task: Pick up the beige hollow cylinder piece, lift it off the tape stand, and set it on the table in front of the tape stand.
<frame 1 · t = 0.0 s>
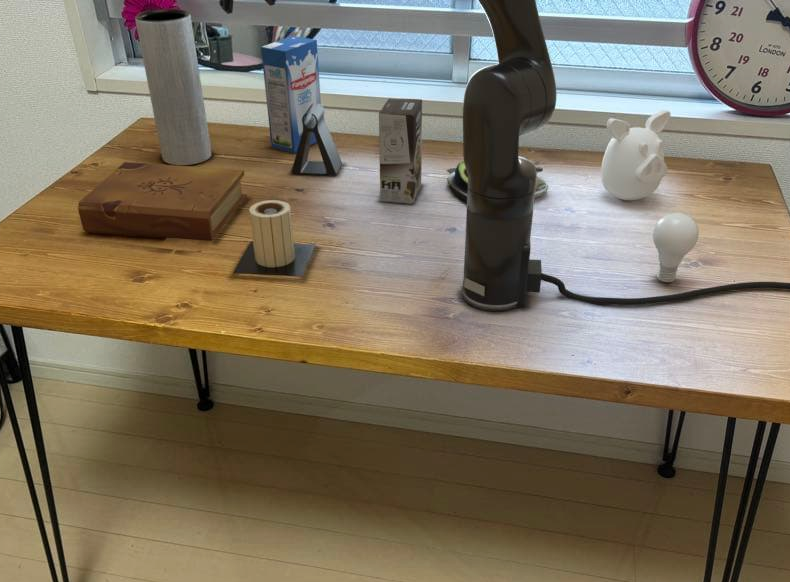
hand: (248, 6, 135), 31 cm above the table, tool tilted 20°, fingers open, 8 cm apart
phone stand: (317, 170, 161), on the table
salad plate: (493, 191, 152), on the table
milk carton: (297, 143, 172), on the table
coffee box: (401, 194, 151), on the table
beige hollow cylinder piece: (275, 258, 130), point 1 cm above the table, touching tape stand
diary: (169, 217, 144), on the table
lightbulb: (664, 282, 124), on the table
piggy bank: (629, 198, 149), on the table
tape stand: (275, 262, 130), on the table
vase: (187, 158, 167), on the table
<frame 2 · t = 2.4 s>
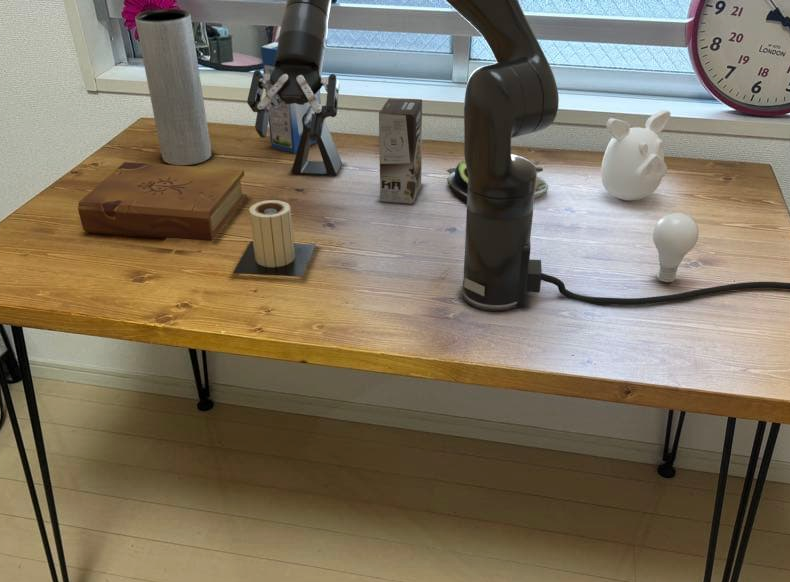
hand: (287, 137, 128), 16 cm above the table, tool tilted 45°, fingers open, 8 cm apart
nothing on the table moved.
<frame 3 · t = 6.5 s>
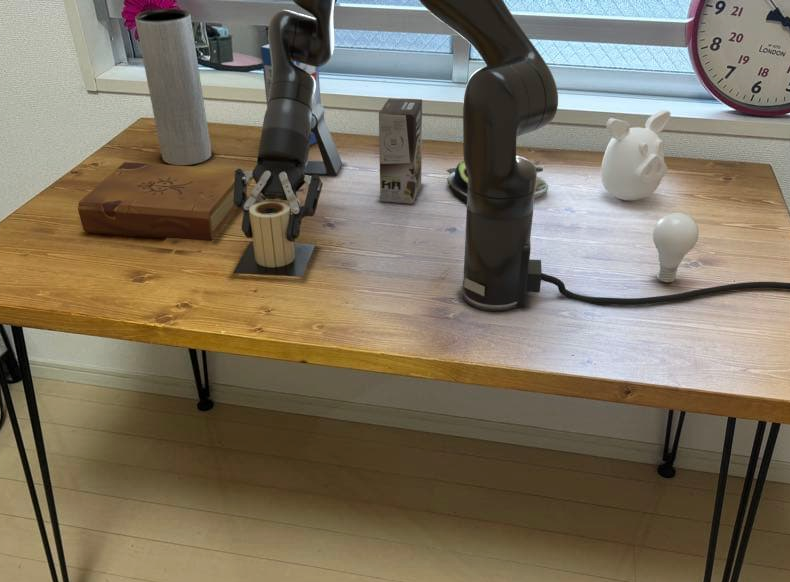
hand: (269, 237, 126), 5 cm above the table, tool tilted 45°, fingers closed on beige hollow cylinder piece, 6 cm apart
beige hollow cylinder piece: (275, 258, 130), point 1 cm above the table, touching gripper, tape stand
everything else where it was.
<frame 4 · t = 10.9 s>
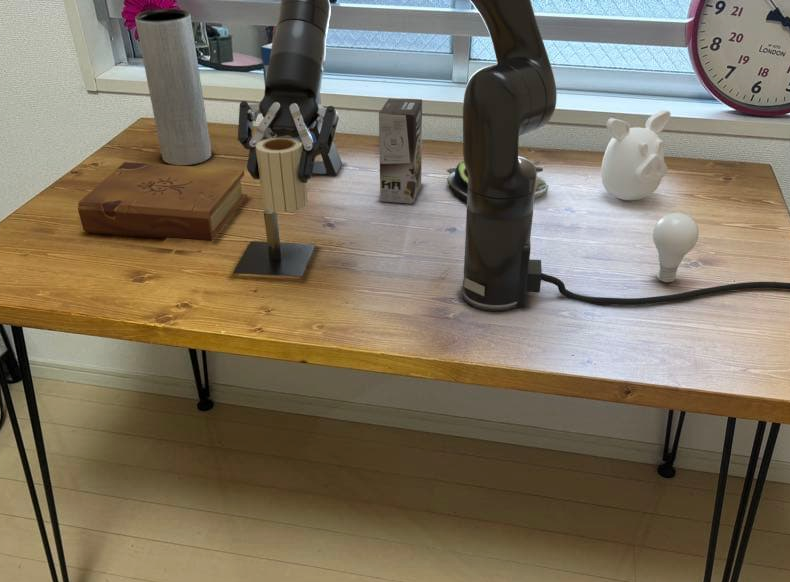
hand: (278, 178, 111), 18 cm above the table, tool tilted 45°, fingers closed on beige hollow cylinder piece, 6 cm apart
beige hollow cylinder piece: (285, 203, 115), point 14 cm above the table, touching gripper
everything else where it was.
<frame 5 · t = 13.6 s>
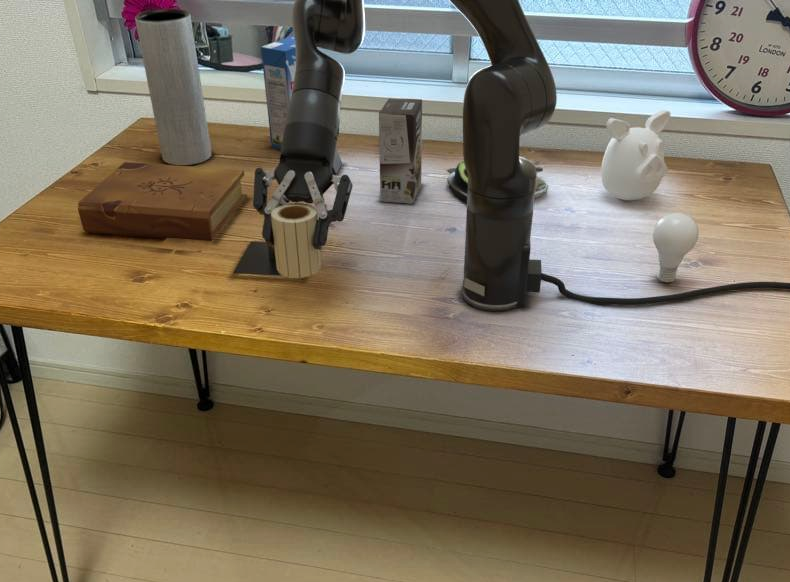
hand: (293, 245, 113), 10 cm above the table, tool tilted 45°, fingers closed on beige hollow cylinder piece, 6 cm apart
beige hollow cylinder piece: (298, 267, 116), point 6 cm above the table, touching gripper
everything else where it was.
when the fingers open (4 cm above the table, at t = 15.8 s): beige hollow cylinder piece stays where it is, on the table.
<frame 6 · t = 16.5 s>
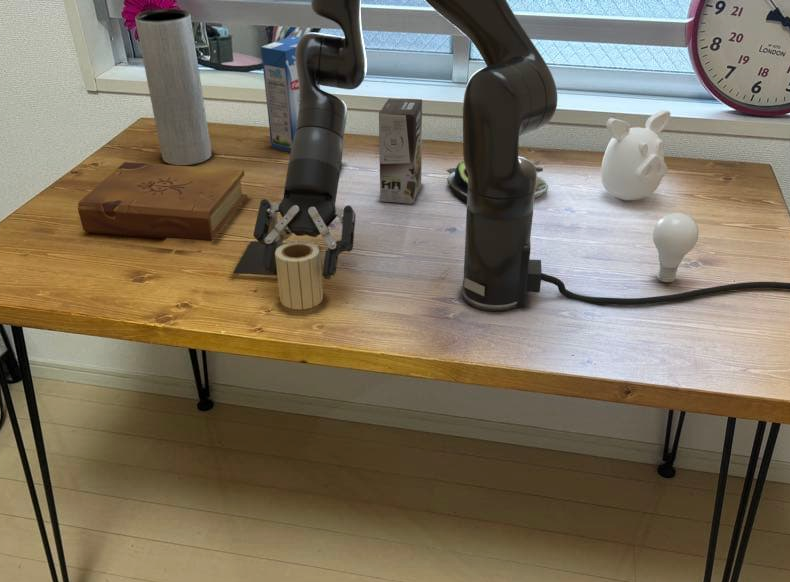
hand: (297, 274, 116), 5 cm above the table, tool tilted 45°, fingers open, 8 cm apart
beige hollow cylinder piece: (302, 302, 120), on the table
everything else where it was.
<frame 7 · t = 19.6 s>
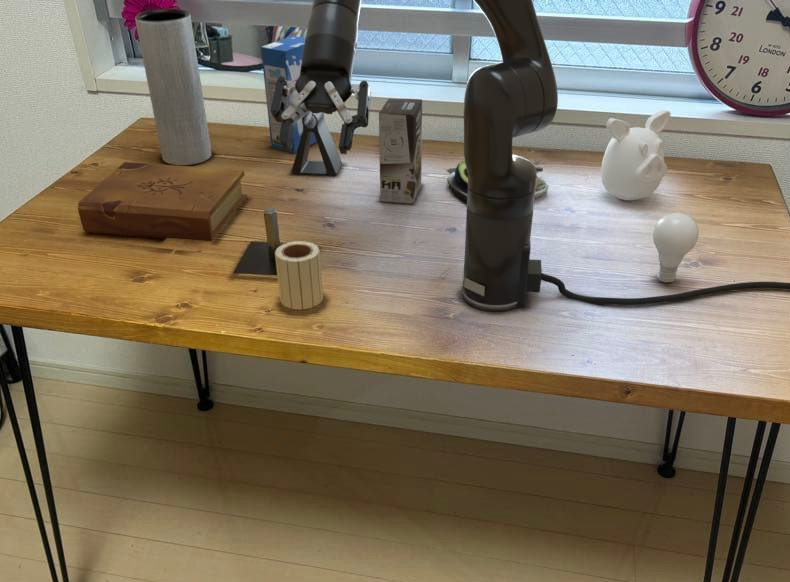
hand: (314, 149, 118), 19 cm above the table, tool tilted 45°, fingers open, 8 cm apart
nothing on the table moved.
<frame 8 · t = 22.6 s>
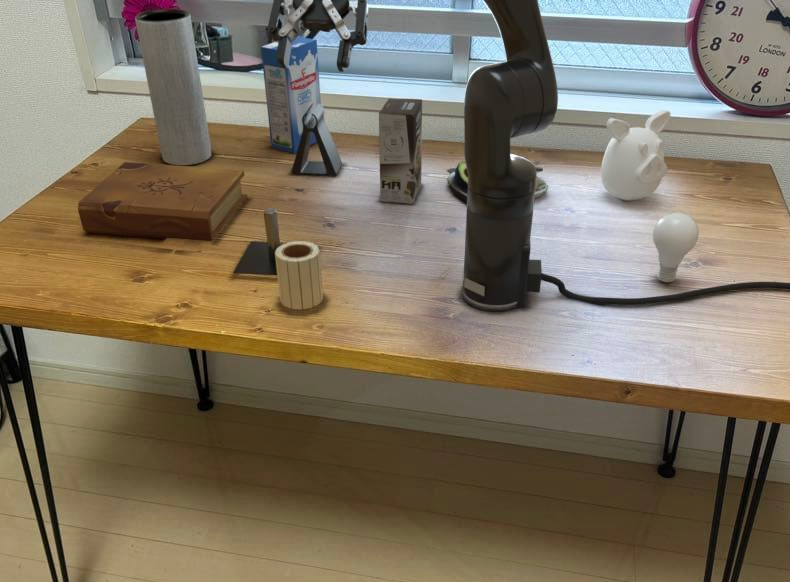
hand: (311, 67, 116), 29 cm above the table, tool tilted 45°, fingers open, 8 cm apart
nothing on the table moved.
at the end: beige hollow cylinder piece inside the target area (0.2 cm from its centre), on the table; beige hollow cylinder piece tilted 0°; the gripper is holding nothing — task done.
